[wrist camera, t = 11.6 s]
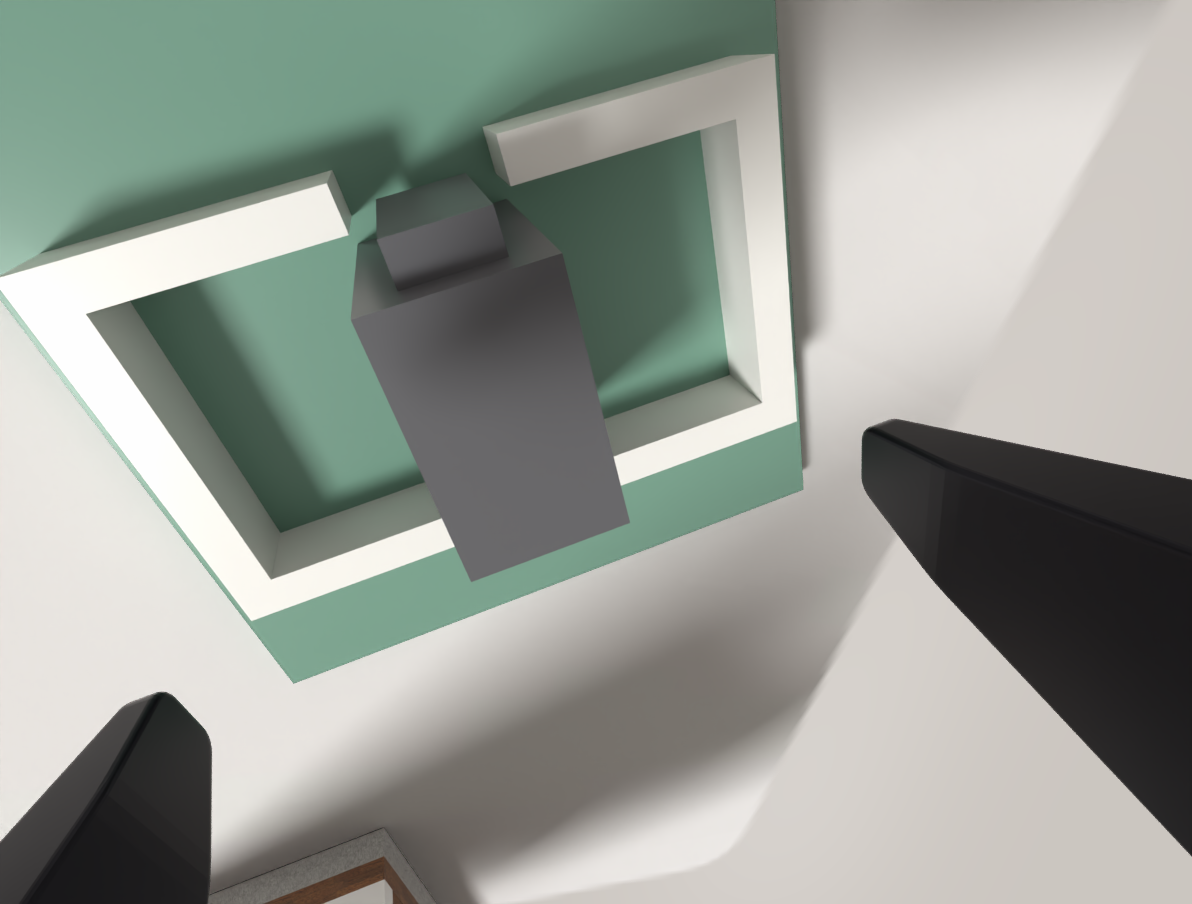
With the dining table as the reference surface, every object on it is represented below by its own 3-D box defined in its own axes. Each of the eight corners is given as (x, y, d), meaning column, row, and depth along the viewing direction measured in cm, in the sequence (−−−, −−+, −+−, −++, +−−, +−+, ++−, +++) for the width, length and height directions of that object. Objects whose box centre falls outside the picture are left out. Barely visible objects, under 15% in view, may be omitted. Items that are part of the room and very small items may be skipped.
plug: (446, 454, 18) (471, 581, 14) (340, 203, 15) (326, 265, 10) (568, 412, 19) (630, 523, 14) (495, 158, 15) (548, 198, 10)
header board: (296, 664, 21) (286, 737, 19) (-182, 20, 12) (-321, 8, 9) (791, 477, 24) (837, 522, 21) (743, -198, 14) (819, -252, 11)
